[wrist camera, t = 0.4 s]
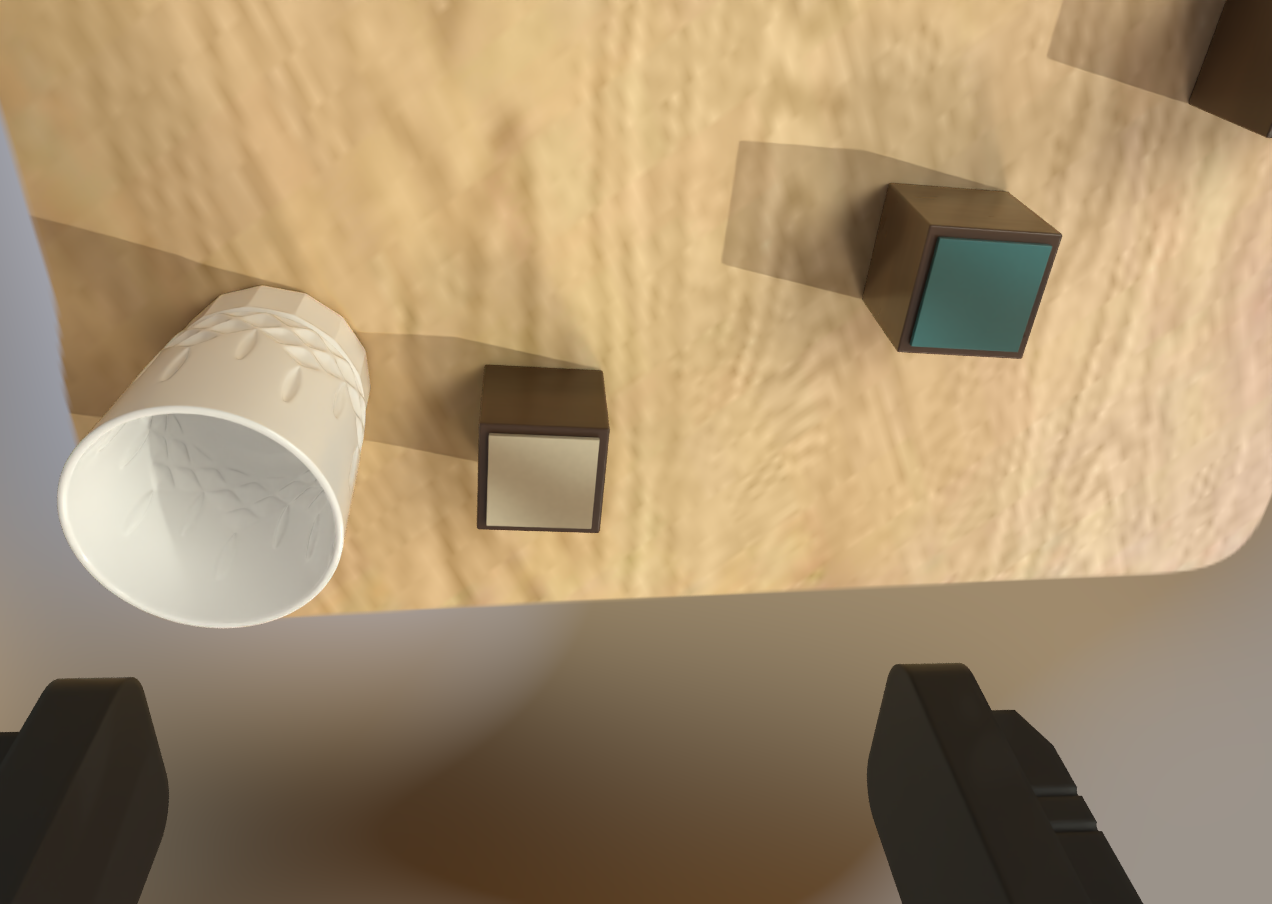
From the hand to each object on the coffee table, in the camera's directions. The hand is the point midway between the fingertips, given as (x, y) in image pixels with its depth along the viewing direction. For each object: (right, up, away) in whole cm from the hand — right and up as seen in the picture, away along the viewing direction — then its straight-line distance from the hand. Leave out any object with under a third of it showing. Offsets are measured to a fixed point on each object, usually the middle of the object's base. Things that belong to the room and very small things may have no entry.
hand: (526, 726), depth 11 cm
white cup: (-12, +6, +27) cm, 30 cm away
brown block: (-3, +4, +29) cm, 29 cm away
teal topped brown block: (+12, +11, +26) cm, 31 cm away
